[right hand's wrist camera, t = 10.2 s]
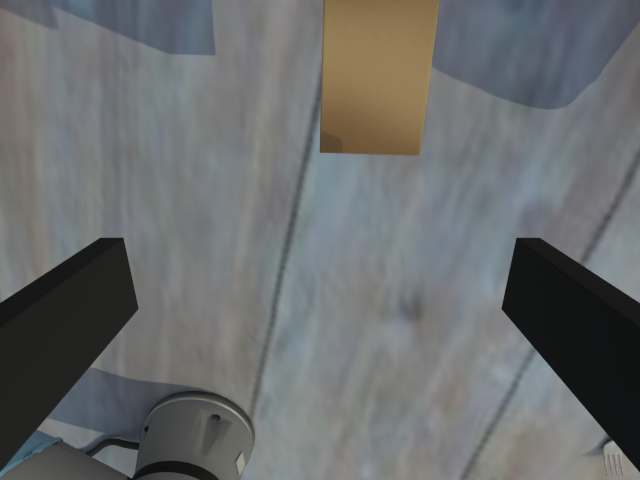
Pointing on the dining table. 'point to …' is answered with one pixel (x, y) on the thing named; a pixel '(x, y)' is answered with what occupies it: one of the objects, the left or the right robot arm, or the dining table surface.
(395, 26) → the bar
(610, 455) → the fork
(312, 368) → the dining table surface
